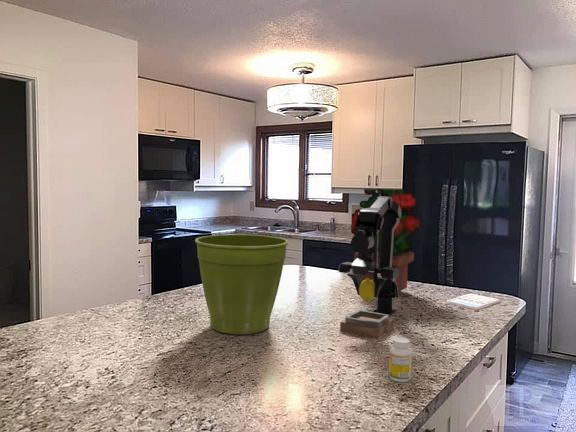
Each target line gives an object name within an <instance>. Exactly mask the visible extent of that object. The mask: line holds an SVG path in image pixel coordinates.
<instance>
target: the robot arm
mask: <svg viewBox="0 0 576 432" xmlns="http://www.w3.org/2000/svg"><path fill="white" fill-rule="evenodd" d="M359 210H360V212H359V213H358V215H357V219H356V223H355V227H354V231H357V234H356V235H355V236H354V235H353V236H352V238H351V240H350V246H351V248H352V250H353V251H354V252H355V253H357V252H358V257H357V259H355V261H354V260H353V262H350V261H344V262H342V263H340V264H339V266H338V273H341V274H343V273H344V274H346V276H347V277H349V278H351V279H352V282H353V284H354V287H355V291H356V294H357V296H360V295H359V286H360V284H361V280H362V275H367V273H372V274H374V279H373V280H372V281H373V282H374V283H375V297H374V299H376V309H375V310H373V311H372V312H375V313H381V314H387V315H389V316H391V315H392V314H394V313H396V309H393V305H394V299H396V298H398V299H399V294H398V286H397V283H396V282H395V278H396V277H399V271H398V269H397V268H394V267H392V254H393V240H394V229H395V228H396V227H397V225H398V224H399V219H400V218H401V208H400V205H399V204H398V203H396V202H395V201H393V199H392V198H390V197H382V196H381V195H379V197H377V200H376V201H375V203H374V204H373V205H372V206H371V207H370V208H361V209H359ZM381 228H382V232H381V246H380V261H379V264H377V261H378V255H379V251H378V232H379V231H380V230H381ZM378 267H379V268H378Z"/></svg>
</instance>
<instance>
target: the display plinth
mask: <svg viewBox="0 0 576 432" xmlns="http://www.w3.org/2000/svg"><path fill="white" fill-rule="evenodd" d="M339 323H340V325H339V326H340V327H339V332H341V333H347V334H353V335H357V336H363V337H367V338H372V339H377V340H379V339H380V338H382V337H383V336H385V335H386V334H387V333H389V332H390V331H392V330H393V329H394V319H392V318H390V315H387V314H381V313H375V312H373V311H369V310H368V311H367V310H365V309H364V310H363V309H359V310H355V311H352V312H350V313H349V314H347V315H345V319H344V320H341V321H340V322H339ZM384 334H385V335H384Z"/></svg>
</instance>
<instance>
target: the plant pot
mask: <svg viewBox="0 0 576 432" xmlns="http://www.w3.org/2000/svg"><path fill="white" fill-rule="evenodd" d="M194 242H195V244H196V248H197V250H196V251H197V259H198V263H199V271H200V278H201V284H202V288H203V294H204V299H205V302H206V306H207V310H208V314H209V318H210V319H209V321H210V323H209V324H210V327H211V328H212V329H213V330H215V331H217V332H220V333H223V334H229V335H252V334H258V333H261V332H263V331H266V330H267V329H268V328H269V327H270V321H271V315H272V311H273V308H274V306H275V302H276V298H277V295H278V291H279V287H280V282H281V279H282V275H283V274H282V273H283V269H284V262H285V260H286V251H287V245H288V244H289V240H287V239H285V238H282V237H277V236H271V235H270V236H269V235H259V234H258V235H257V234H215V235H212V234H211V235H206V236H205V235H204V236H201V237H200V236H199V237H197V238H195V239H194Z"/></svg>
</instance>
